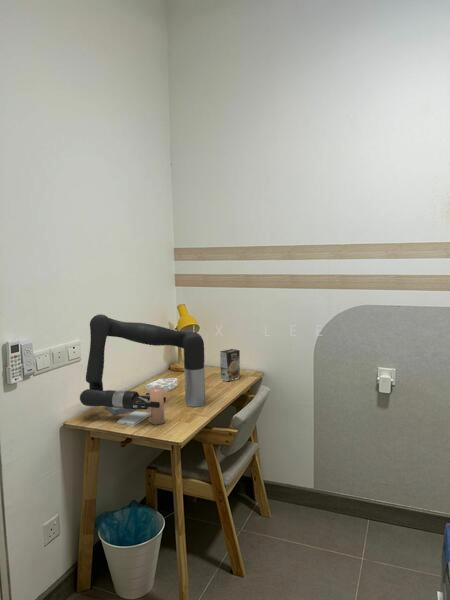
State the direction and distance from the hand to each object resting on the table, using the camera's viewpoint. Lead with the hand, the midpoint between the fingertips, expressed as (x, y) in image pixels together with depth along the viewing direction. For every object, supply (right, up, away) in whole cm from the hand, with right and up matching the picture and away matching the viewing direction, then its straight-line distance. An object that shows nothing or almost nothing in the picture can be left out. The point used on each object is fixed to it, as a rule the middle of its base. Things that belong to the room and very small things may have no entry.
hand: (162, 402), depth 185 cm
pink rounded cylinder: (-2, -8, +2) cm, 9 cm away
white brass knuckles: (-7, -4, +49) cm, 50 cm away
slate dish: (-22, -7, +18) cm, 30 cm away
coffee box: (+29, -1, +61) cm, 68 cm away
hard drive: (-13, -9, +6) cm, 17 cm away
